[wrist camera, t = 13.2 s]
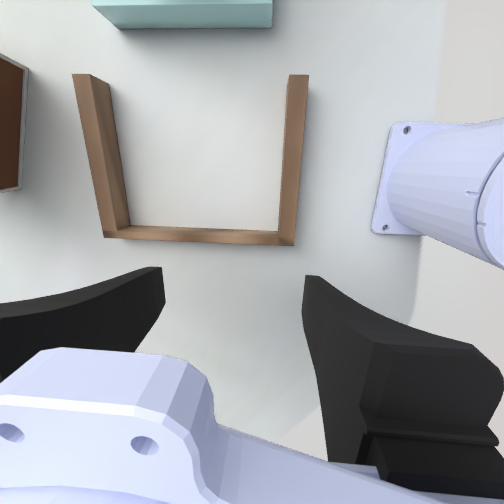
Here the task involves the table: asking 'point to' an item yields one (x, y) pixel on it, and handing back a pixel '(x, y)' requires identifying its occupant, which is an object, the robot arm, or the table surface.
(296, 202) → the frame
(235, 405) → the table surface
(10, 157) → the food container
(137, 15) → the tray
